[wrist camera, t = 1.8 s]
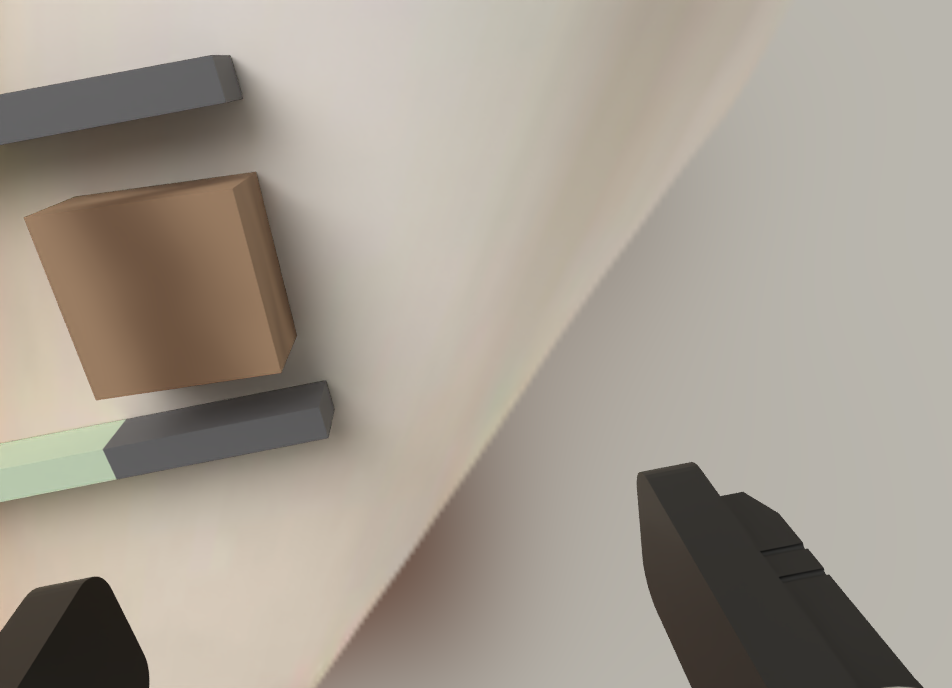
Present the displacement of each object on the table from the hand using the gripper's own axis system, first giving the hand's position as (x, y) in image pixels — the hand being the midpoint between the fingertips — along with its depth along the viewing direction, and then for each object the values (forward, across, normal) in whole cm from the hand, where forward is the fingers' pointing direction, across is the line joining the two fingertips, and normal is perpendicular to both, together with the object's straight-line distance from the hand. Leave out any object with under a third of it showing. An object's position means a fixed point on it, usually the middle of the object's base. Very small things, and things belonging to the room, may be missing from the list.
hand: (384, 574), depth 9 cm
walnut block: (+20, +9, 0) cm, 22 cm away
